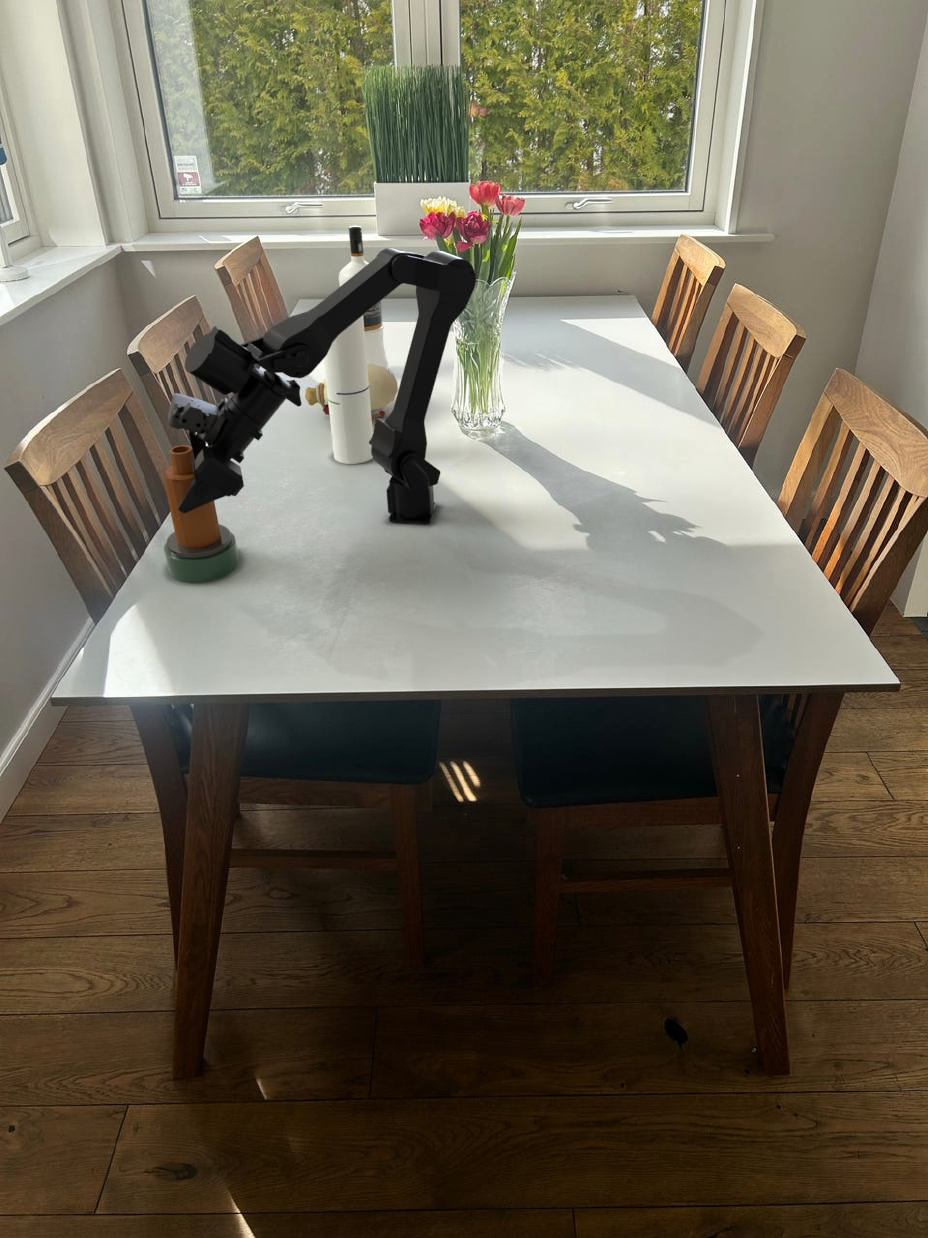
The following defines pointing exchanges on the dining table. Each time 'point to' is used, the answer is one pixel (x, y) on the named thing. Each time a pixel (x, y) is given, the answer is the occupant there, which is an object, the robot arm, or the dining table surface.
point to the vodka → (374, 315)
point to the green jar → (202, 559)
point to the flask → (379, 389)
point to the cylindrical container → (349, 395)
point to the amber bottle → (190, 526)
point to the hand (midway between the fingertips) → (179, 496)
